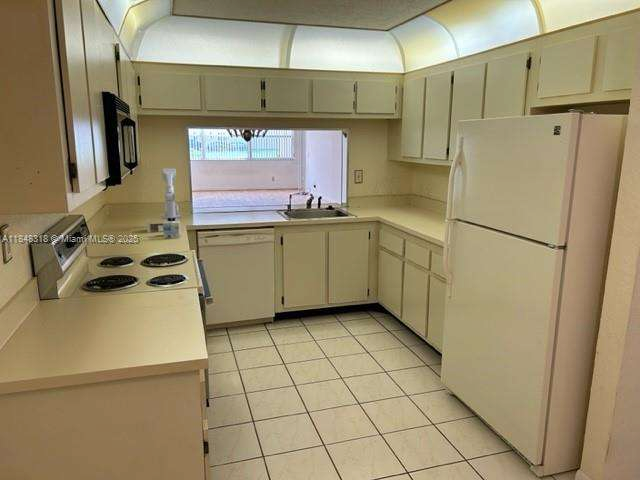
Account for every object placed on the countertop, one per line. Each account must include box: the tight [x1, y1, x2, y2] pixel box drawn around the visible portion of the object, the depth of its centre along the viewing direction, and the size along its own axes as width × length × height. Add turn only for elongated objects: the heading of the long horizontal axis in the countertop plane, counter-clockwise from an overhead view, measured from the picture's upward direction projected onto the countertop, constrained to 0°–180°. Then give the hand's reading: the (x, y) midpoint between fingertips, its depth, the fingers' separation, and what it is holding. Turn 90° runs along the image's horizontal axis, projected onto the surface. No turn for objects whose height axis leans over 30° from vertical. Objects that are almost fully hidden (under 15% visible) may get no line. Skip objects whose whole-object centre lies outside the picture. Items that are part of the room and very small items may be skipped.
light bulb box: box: [162, 220, 181, 239], centre depth 325 cm, size 11×7×11 cm, turn 101°
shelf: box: [149, 222, 164, 234], centre depth 341 cm, size 12×18×6 cm
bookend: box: [146, 218, 151, 234], centre depth 337 cm, size 10×2×8 cm, turn 18°
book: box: [157, 225, 164, 233], centre depth 340 cm, size 8×5×3 cm, turn 18°
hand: (172, 228), depth 343 cm, fingers closed
